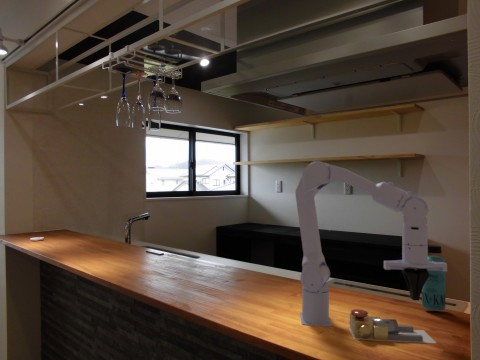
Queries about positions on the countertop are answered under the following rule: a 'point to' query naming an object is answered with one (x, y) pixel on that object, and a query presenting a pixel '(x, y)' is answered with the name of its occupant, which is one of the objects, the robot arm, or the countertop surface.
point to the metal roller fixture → (405, 335)
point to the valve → (366, 326)
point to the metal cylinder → (387, 324)
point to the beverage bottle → (434, 284)
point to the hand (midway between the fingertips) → (414, 299)
